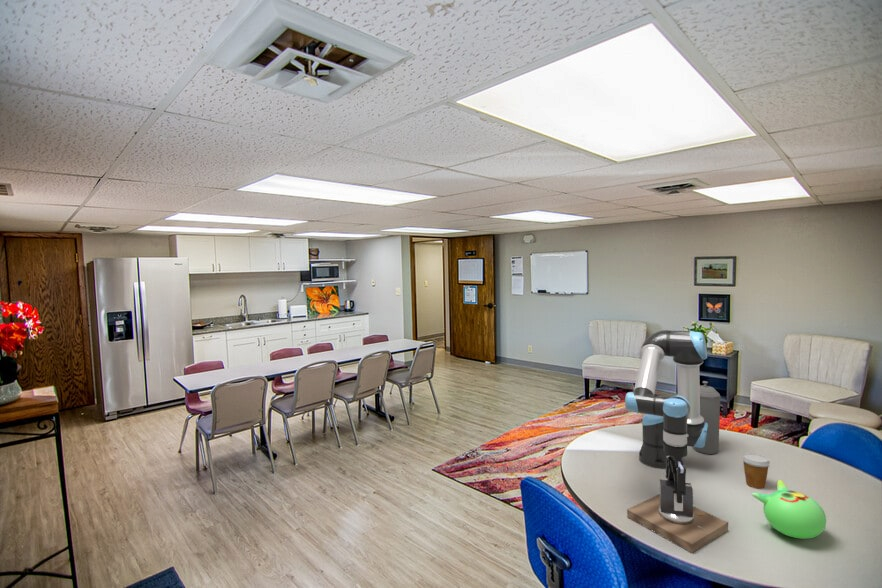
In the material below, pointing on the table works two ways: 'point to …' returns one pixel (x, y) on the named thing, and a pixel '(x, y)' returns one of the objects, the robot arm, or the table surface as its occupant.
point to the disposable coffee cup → (755, 470)
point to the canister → (710, 418)
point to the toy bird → (793, 512)
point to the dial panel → (679, 525)
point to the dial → (668, 503)
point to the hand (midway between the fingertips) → (675, 505)
